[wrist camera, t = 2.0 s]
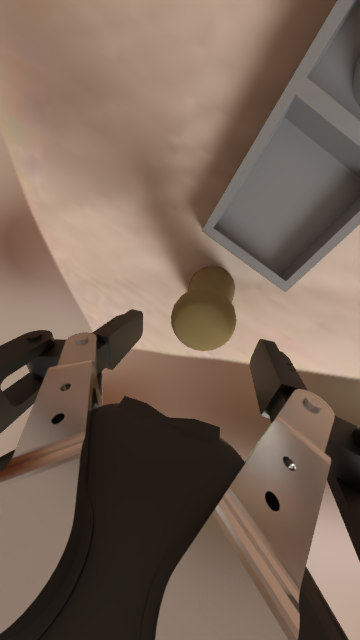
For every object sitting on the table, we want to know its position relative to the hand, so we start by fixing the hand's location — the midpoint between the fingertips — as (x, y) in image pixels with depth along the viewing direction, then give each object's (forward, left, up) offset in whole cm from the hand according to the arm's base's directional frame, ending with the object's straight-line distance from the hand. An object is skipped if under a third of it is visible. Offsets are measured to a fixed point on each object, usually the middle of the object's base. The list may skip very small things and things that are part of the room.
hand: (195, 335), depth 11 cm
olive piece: (0, 0, -12) cm, 12 cm away
